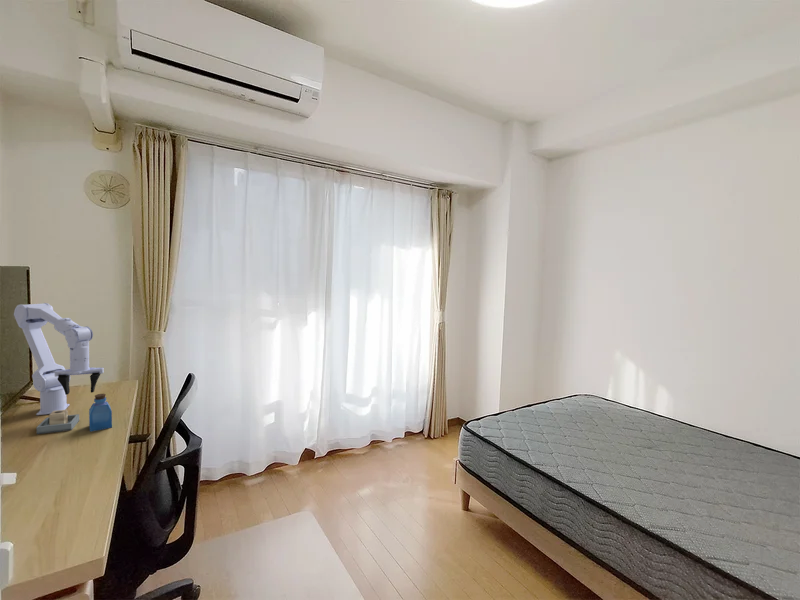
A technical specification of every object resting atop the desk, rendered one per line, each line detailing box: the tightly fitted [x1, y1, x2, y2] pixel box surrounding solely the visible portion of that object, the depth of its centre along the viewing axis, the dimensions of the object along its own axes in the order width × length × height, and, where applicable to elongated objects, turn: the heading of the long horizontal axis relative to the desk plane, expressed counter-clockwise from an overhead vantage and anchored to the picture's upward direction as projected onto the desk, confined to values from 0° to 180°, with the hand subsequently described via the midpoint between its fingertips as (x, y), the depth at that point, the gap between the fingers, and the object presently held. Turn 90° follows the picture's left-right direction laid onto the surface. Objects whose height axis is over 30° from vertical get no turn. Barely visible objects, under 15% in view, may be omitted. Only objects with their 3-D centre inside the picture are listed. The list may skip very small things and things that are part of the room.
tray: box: [36, 413, 80, 435], centre depth 137 cm, size 9×9×2 cm
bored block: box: [48, 409, 69, 425], centre depth 137 cm, size 4×4×5 cm
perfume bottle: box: [88, 393, 113, 432], centre depth 139 cm, size 6×6×12 cm
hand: (80, 392), depth 147 cm, fingers open, 7 cm apart
